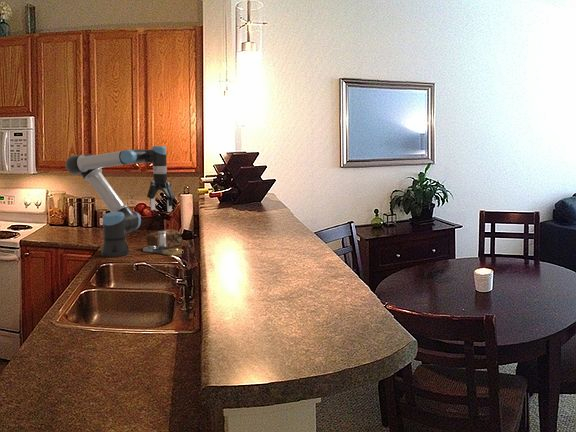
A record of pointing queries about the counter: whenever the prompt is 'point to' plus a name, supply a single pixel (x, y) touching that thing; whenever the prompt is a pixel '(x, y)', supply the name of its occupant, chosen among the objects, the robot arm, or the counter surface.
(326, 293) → the counter surface
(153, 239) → the bread
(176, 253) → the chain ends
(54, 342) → the counter surface
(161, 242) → the pin
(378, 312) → the counter surface
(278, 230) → the counter surface
